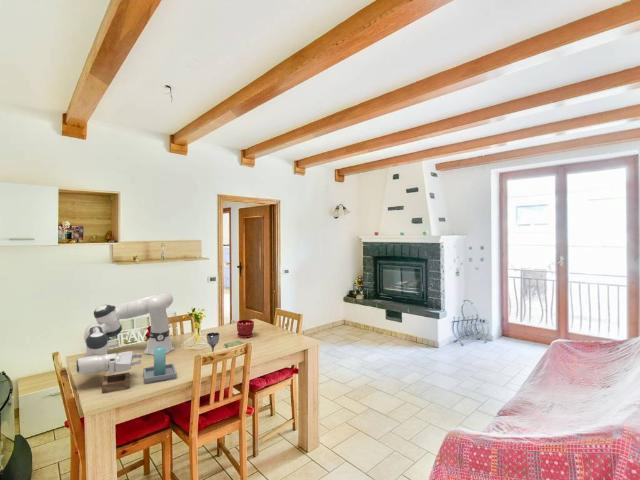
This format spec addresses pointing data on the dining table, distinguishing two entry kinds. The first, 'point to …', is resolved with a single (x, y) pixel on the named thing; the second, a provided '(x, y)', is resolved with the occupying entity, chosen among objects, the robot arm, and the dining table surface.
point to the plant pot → (245, 328)
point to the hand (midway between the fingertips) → (141, 358)
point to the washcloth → (233, 343)
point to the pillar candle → (159, 360)
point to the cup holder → (116, 382)
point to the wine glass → (212, 339)
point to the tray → (169, 374)
